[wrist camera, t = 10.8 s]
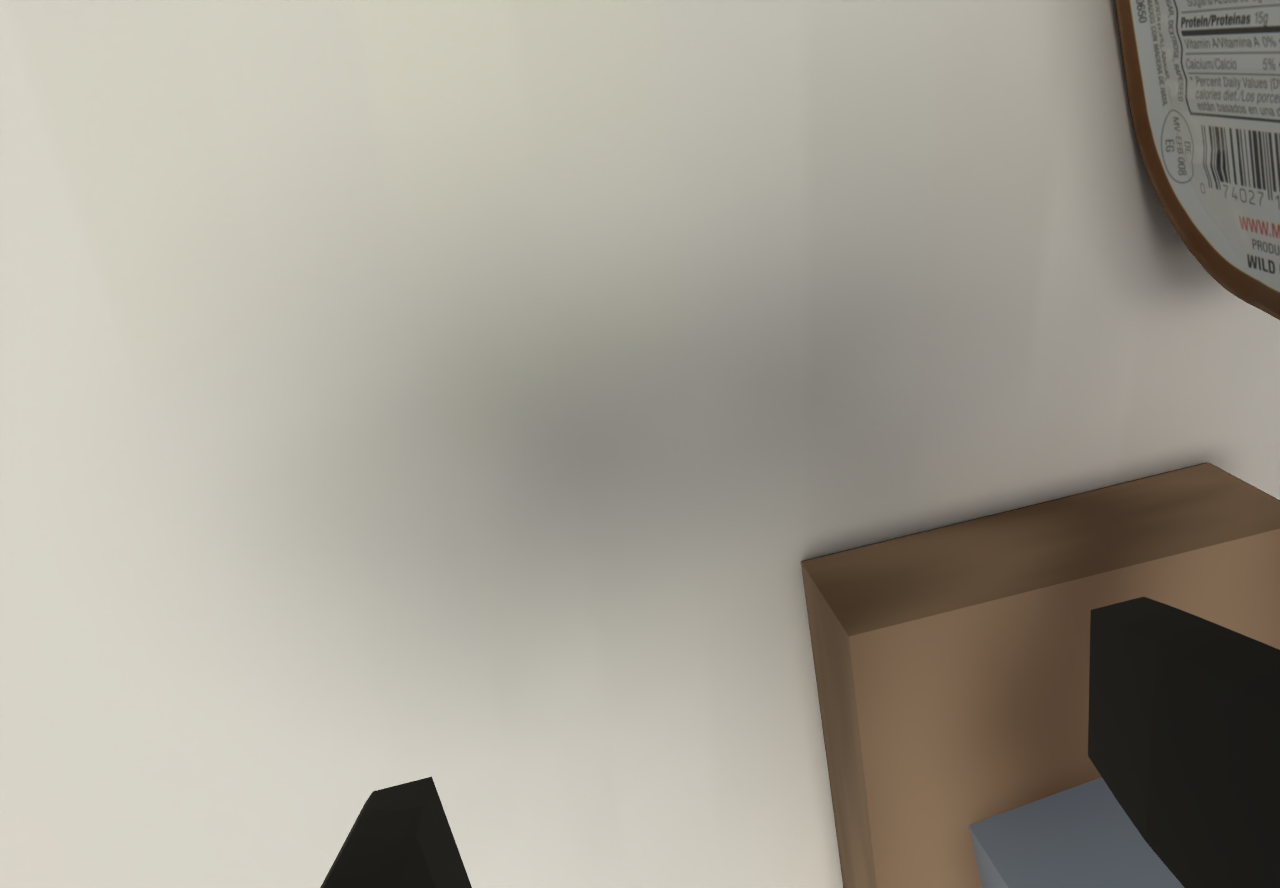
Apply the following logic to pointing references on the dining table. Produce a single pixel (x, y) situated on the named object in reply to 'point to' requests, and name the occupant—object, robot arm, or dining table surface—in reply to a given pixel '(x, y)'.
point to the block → (1067, 845)
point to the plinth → (1006, 654)
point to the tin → (1212, 130)
